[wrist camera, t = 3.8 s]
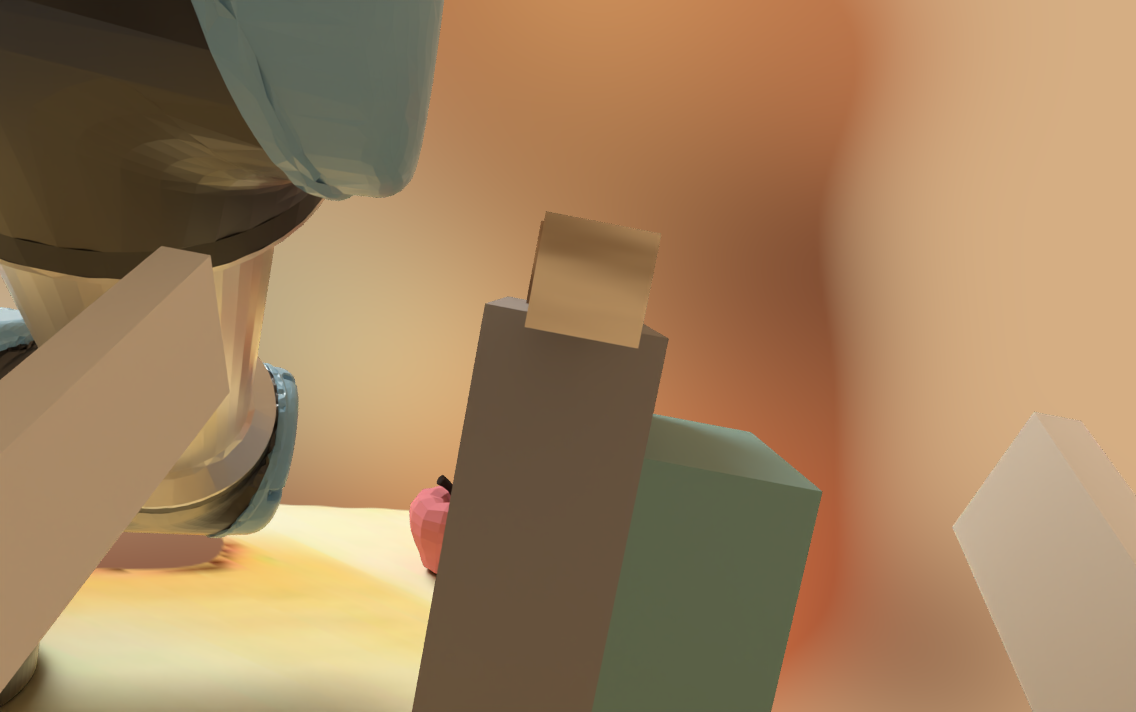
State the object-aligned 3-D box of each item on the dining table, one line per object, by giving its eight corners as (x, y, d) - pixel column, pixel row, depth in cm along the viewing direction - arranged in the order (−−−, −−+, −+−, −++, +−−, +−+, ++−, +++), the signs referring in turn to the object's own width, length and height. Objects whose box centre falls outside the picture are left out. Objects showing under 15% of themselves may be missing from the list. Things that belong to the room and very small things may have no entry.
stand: (720, 926, 39) (849, 373, 35) (383, 868, 38) (485, 303, 35) (679, 755, 52) (770, 346, 49) (432, 710, 52) (508, 296, 49)
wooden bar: (666, 354, 25) (696, 210, 25) (496, 321, 25) (522, 175, 25) (618, 318, 48) (633, 243, 48) (529, 301, 48) (543, 225, 48)
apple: (440, 597, 70) (458, 497, 69) (381, 563, 75) (397, 469, 74) (505, 575, 77) (522, 485, 76) (448, 545, 82) (464, 460, 81)
